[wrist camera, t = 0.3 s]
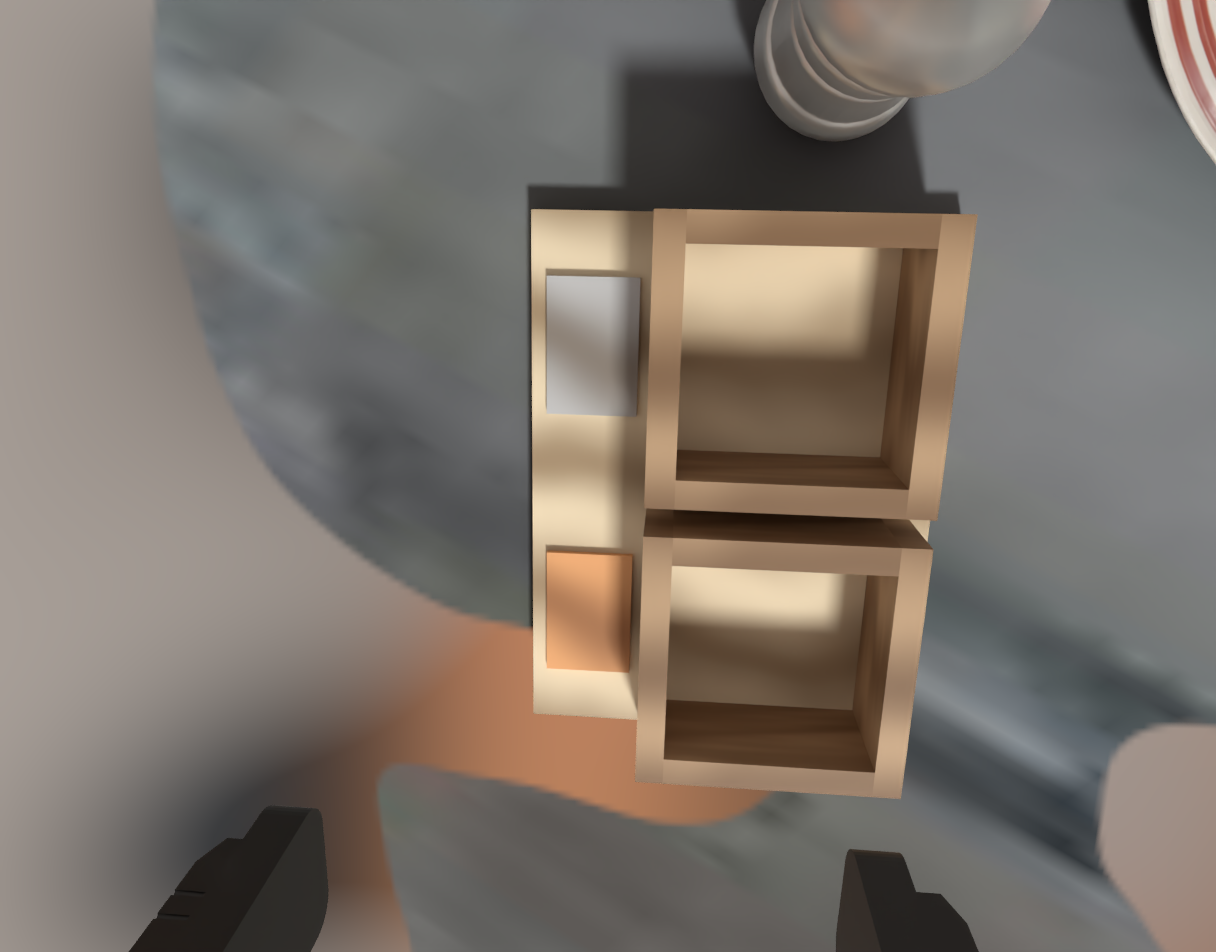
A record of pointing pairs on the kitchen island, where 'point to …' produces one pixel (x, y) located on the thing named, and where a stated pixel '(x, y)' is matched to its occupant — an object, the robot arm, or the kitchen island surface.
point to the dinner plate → (1190, 61)
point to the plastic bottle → (878, 56)
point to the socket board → (741, 482)
